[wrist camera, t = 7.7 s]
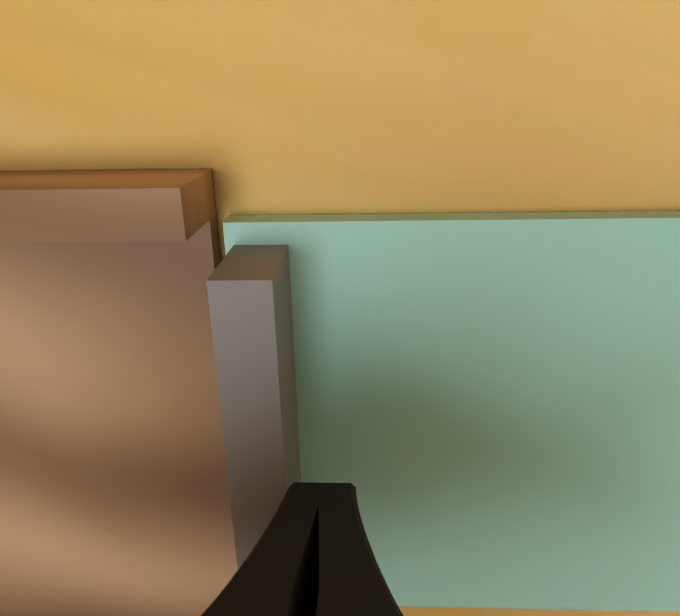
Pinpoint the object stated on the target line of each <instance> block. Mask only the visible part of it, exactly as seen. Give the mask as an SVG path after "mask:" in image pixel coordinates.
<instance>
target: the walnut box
mask: <svg viewBox="0 0 680 616" xmlns="http://www.w3.org/2000/svg"><path fill="white" fill-rule="evenodd" d="M220 262H221V259H220V249H219V238H218V228H217V217H216V207H215V197H214V186H213V176H212V169H144V170H62V171H0V616H201V615H202V614H203V612H204V611H205V610H206V609H207V608H208V607H209V606H210V605H211V603H212V602H213V601H214V600H215V599H216V597H217V596H218V595H219V594H220V593H221V591H222V590H223V589H224V588H225V586H226V585H227V584H228V583H229V581H230V580H231V579H232V577H233V576H234V574H235V573H236V572H237V570H238V568H237V559H236V550H235V541H234V531H233V522H232V513H231V504H230V495H229V485H228V476H227V467H226V458H225V449H224V439H223V430H222V421H221V412H220V403H219V393H218V384H217V375H216V366H215V357H214V347H213V338H212V329H211V320H210V311H209V301H208V292H207V283H206V280H207V279H208V278H209V276H210V275H211V274H212V273H213V271H214V270H215V269H216V267H217V266H218V265H219V264H220Z"/></svg>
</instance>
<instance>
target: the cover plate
mask: <svg viewBox="0 0 680 616" xmlns="http://www.w3.org/2000/svg"><path fill="white" fill-rule="evenodd" d="M223 232H224V243H225V254H226V256H225V257H224V258H223V260H222V261H221V262H220V264H219V265H218V266H217V267H216V269H215V270H214V271H213V273H212V274H211V275H210V276H209V278H208V279H207V280H206V283H207V292H208V301H209V311H210V320H211V329H212V338H213V347H214V357H215V366H216V375H217V384H218V393H219V403H220V412H221V421H222V430H223V439H224V449H225V458H226V467H227V476H228V485H229V495H230V504H231V513H232V522H233V531H234V541H235V550H236V559H237V568H238V569H239V568H240V566H241V565H242V564H243V562H244V561H245V560H246V558H247V557H248V556H249V554H250V553H251V551H252V550H253V548H254V547H255V545H256V544H257V542H258V541H259V539H260V537H261V536H262V534H263V533H264V531H265V530H266V528H267V527H268V525H269V523H270V522H271V520H272V518H273V517H274V515H275V513H276V511H277V510H278V508H279V506H280V504H281V502H282V500H283V498H284V496H285V494H286V492H287V490H288V488H289V486H290V485H292V484H293V483H294V482H316V483H352V484H353V485H354V486H355V487H356V496H357V502H358V507H359V512H360V516H361V519H362V522H363V526H364V529H365V532H366V535H367V538H368V541H369V543H370V546H371V548H372V551H373V553H374V556H375V559H376V561H377V563H378V566H379V568H380V570H381V573H382V575H383V577H384V579H385V581H386V583H387V585H388V587H389V590H390V592H391V594H392V596H393V598H394V599H395V601H396V603H397V605H398V606H403V607H456V608H509V609H562V610H614V611H667V612H680V210H676V211H582V212H489V213H395V214H301V215H229V217H228V218H227V219H226V220H225V221H224V222H223Z"/></svg>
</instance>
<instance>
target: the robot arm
mask: <svg viewBox="0 0 680 616" xmlns="http://www.w3.org/2000/svg"><path fill="white" fill-rule="evenodd" d="M201 616H403V614H402V613H401V611H400V609H399V607H398V605H397V603H396V601H395V599H394V598H393V596H392V594H391V592H390V590H389V587H388V585H387V583H386V581H385V579H384V577H383V575H382V573H381V570H380V568H379V566H378V563H377V561H376V559H375V556H374V553H373V551H372V548H371V546H370V543H369V541H368V538H367V535H366V532H365V529H364V526H363V522H362V519H361V516H360V512H359V507H358V502H357V496H356V487H355V486H354V485H353V484H352V483H316V482H294V483H293V484H292V485H290V486H289V488H288V490H287V492H286V494H285V496H284V498H283V500H282V502H281V504H280V506H279V508H278V510H277V511H276V513H275V515H274V517H273V518H272V520H271V522H270V523H269V525H268V527H267V528H266V530H265V531H264V533H263V534H262V536H261V537H260V539H259V541H258V542H257V544H256V545H255V547H254V548H253V550H252V551H251V553H250V554H249V556H248V557H247V558H246V560H245V561H244V562H243V564H242V565H241V566H240V568H239V569H238V570H237V572H236V573H235V574H234V576H233V577H232V579H231V580H230V581H229V583H228V584H227V585H226V586H225V588H224V589H223V590H222V591H221V593H220V594H219V595H218V596H217V597H216V599H215V600H214V601H213V602H212V603H211V605H210V606H209V607H208V608H207V609H206V610H205V611H204V612H203V614H202V615H201Z"/></svg>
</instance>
